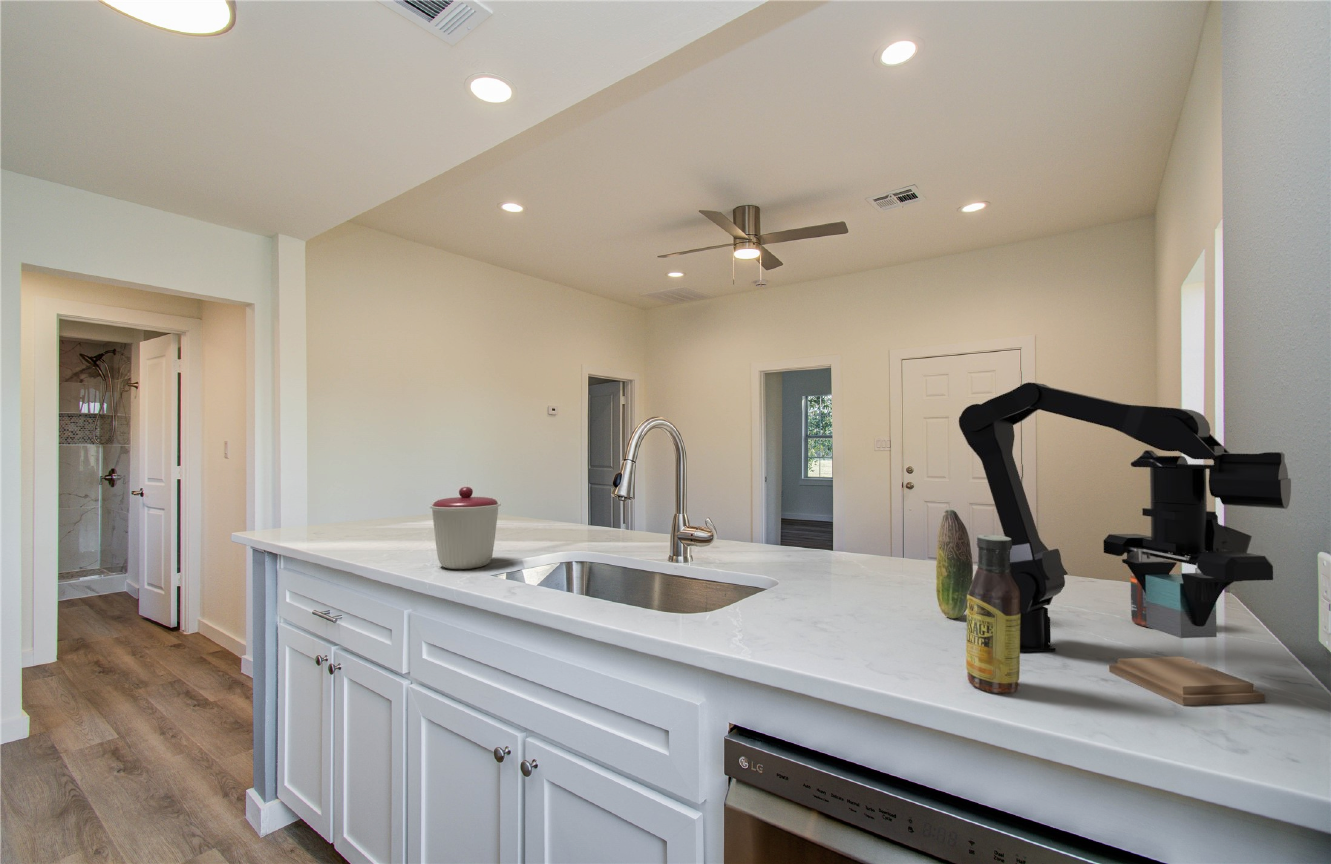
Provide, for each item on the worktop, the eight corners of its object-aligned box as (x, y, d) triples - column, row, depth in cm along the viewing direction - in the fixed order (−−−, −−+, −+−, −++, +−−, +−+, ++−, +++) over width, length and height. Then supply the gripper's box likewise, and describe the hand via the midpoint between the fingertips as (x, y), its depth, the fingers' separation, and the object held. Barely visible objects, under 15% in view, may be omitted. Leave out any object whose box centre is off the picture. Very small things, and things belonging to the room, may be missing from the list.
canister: (450, 576, 147) (450, 490, 147) (416, 566, 159) (417, 487, 160) (513, 565, 160) (514, 486, 161) (478, 557, 172) (479, 483, 173)
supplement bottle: (1182, 631, 102) (1181, 564, 103) (1143, 629, 103) (1141, 563, 104) (1161, 621, 108) (1160, 558, 108) (1124, 619, 109) (1122, 557, 110)
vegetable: (932, 611, 115) (931, 507, 115) (967, 613, 113) (966, 507, 114) (940, 620, 109) (938, 510, 109) (977, 622, 107) (976, 511, 108)
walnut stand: (1183, 705, 73) (1183, 688, 73) (1109, 671, 84) (1108, 657, 84) (1265, 701, 74) (1264, 685, 74) (1181, 668, 85) (1180, 654, 85)
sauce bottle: (956, 678, 82) (954, 532, 82) (1000, 676, 83) (997, 532, 83) (986, 698, 75) (984, 540, 76) (1033, 696, 76) (1030, 539, 76)
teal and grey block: (1216, 637, 77) (1215, 582, 77) (1180, 638, 77) (1179, 583, 77) (1180, 625, 82) (1179, 574, 82) (1146, 626, 82) (1145, 574, 82)
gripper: (1314, 509, 71) (1316, 641, 71) (1169, 495, 90) (1170, 600, 89) (1228, 510, 70) (1230, 644, 70) (1099, 496, 89) (1101, 602, 88)
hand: (1179, 620), depth 79 cm, fingers closed on teal and grey block, 5 cm apart
